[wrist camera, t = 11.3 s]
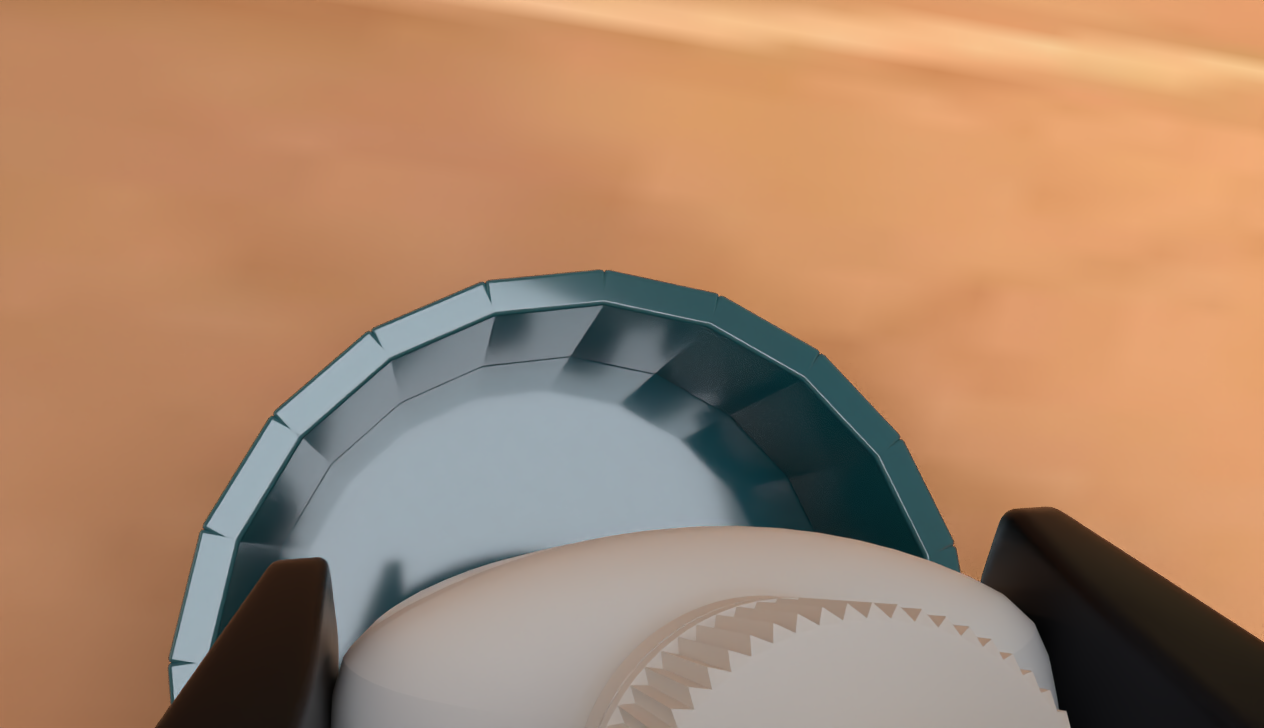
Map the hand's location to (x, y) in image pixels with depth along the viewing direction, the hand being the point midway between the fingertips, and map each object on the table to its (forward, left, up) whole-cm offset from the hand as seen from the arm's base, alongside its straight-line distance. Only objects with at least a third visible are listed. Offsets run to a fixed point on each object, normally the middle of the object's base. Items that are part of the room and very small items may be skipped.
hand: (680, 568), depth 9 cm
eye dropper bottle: (-1, +1, -7) cm, 7 cm away
